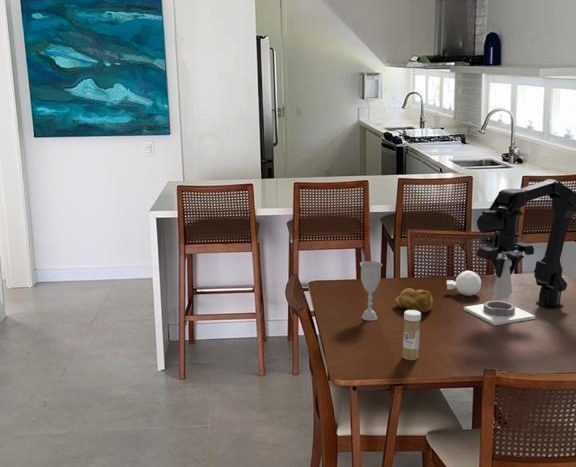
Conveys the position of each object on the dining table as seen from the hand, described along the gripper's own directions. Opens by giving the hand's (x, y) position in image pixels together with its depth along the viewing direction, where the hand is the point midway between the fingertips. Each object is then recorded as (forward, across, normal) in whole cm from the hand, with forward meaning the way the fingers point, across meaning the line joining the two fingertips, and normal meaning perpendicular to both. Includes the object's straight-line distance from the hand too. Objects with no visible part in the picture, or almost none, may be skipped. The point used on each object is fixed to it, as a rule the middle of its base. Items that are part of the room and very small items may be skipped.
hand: (503, 276), depth 233 cm
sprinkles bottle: (+13, +47, +18) cm, 52 cm away
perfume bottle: (+13, -2, -23) cm, 26 cm away
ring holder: (+13, 0, -1) cm, 13 cm away
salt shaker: (+7, 0, 0) cm, 7 cm away
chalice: (+13, +41, -14) cm, 46 cm away
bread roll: (+13, +23, -16) cm, 31 cm away
